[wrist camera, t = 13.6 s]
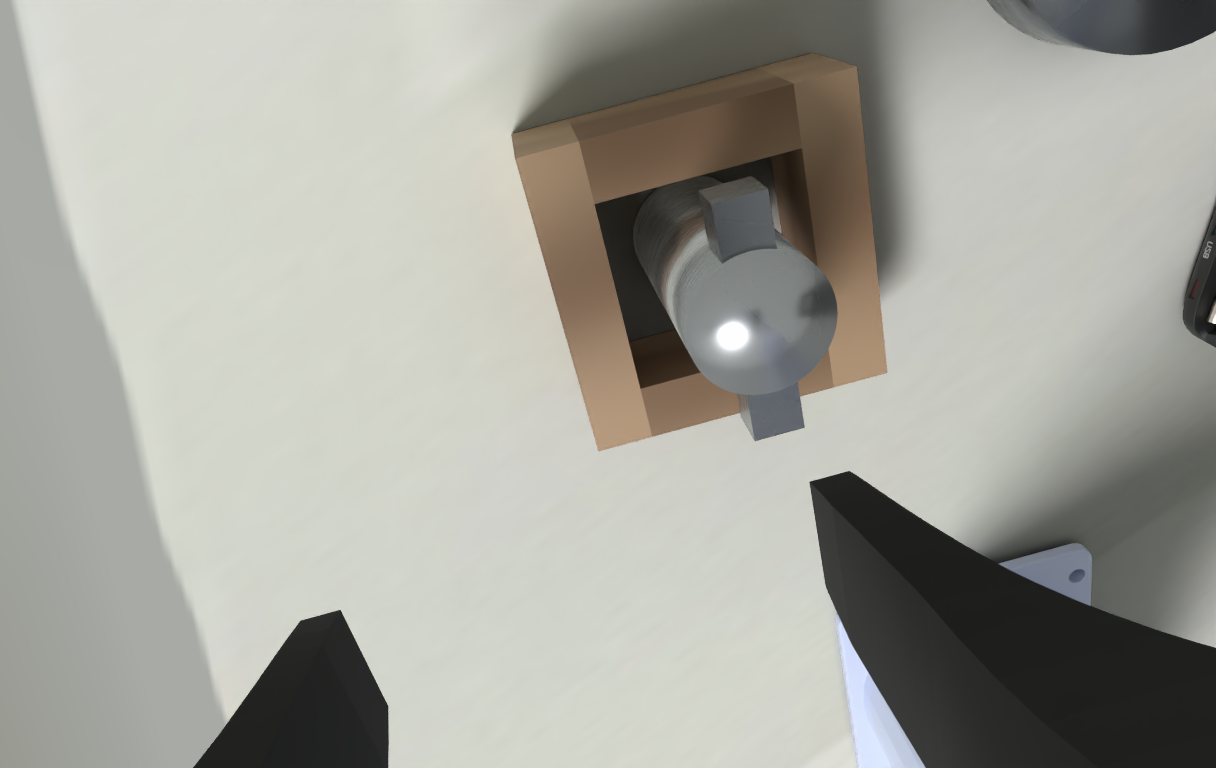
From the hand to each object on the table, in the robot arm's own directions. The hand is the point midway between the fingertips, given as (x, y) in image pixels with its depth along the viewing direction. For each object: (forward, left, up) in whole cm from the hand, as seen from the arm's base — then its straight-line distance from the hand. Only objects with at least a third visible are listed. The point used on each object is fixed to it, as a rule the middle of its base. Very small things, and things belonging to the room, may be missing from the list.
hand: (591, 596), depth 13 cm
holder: (+2, -4, -10) cm, 11 cm away
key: (+2, -4, -10) cm, 11 cm away
